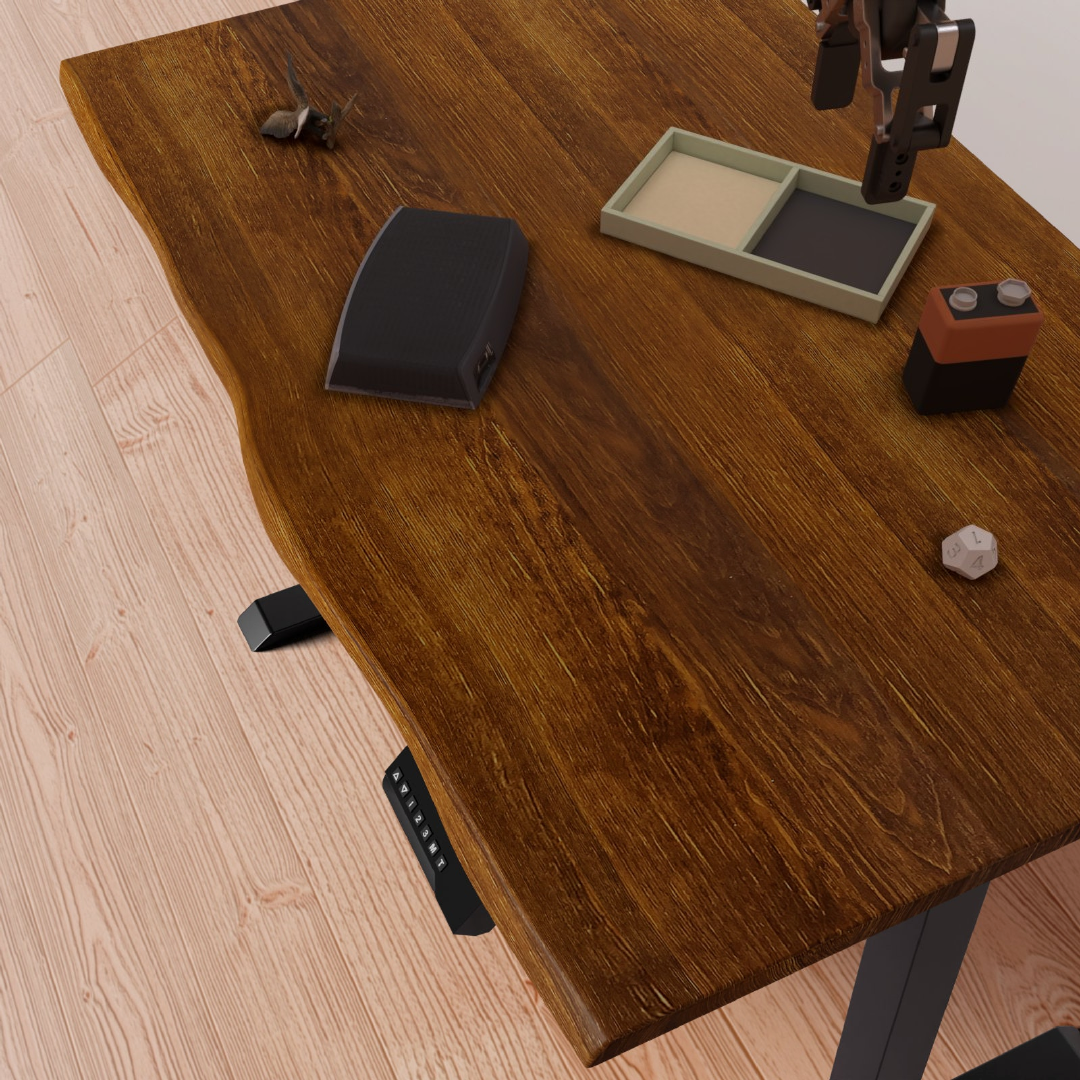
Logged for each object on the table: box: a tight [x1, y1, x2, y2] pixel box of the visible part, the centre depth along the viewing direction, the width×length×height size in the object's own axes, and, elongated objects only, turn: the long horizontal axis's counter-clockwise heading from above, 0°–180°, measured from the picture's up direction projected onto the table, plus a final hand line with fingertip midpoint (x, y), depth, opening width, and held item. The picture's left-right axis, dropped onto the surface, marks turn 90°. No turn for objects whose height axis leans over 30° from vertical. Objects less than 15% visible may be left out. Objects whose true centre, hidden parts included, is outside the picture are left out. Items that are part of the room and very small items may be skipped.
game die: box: [941, 523, 999, 581], centre depth 75 cm, size 4×4×3 cm
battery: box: [901, 277, 1045, 417], centre depth 82 cm, size 4×7×10 cm, turn 97°
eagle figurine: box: [258, 50, 359, 150], centre depth 105 cm, size 8×7×9 cm
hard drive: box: [324, 205, 530, 411], centre depth 90 cm, size 13×19×4 cm
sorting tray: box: [599, 126, 937, 325], centre depth 96 cm, size 24×14×3 cm, turn 61°
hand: (854, 150), depth 62 cm, fingers open, 8 cm apart
